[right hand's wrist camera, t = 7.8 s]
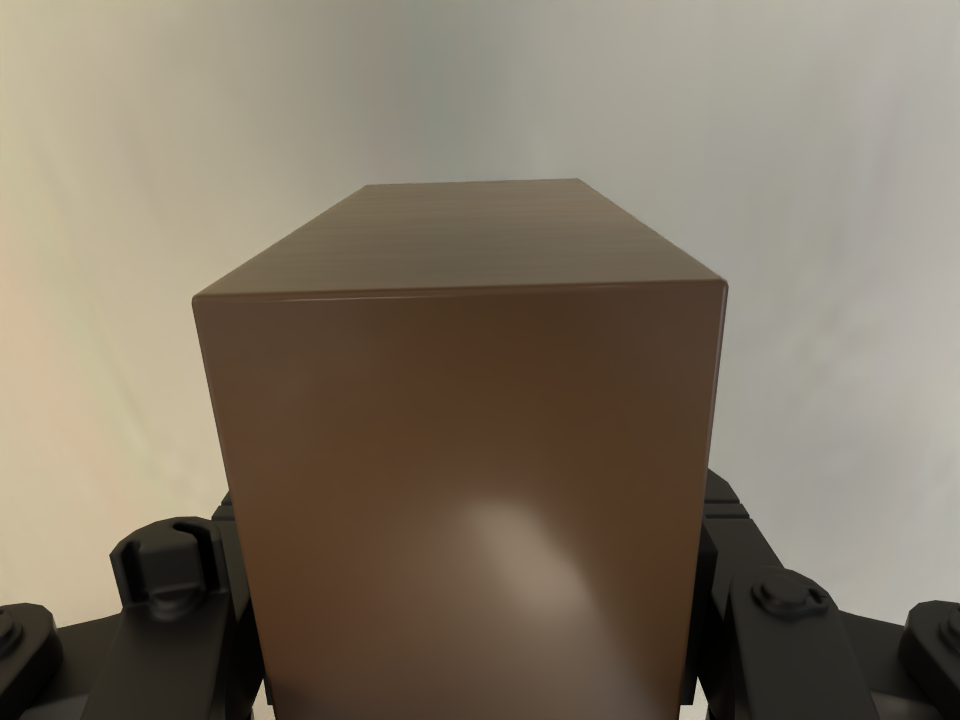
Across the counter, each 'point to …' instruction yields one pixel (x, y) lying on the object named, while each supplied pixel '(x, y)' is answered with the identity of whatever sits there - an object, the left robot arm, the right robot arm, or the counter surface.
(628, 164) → the counter surface
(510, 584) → the post
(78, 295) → the counter surface
